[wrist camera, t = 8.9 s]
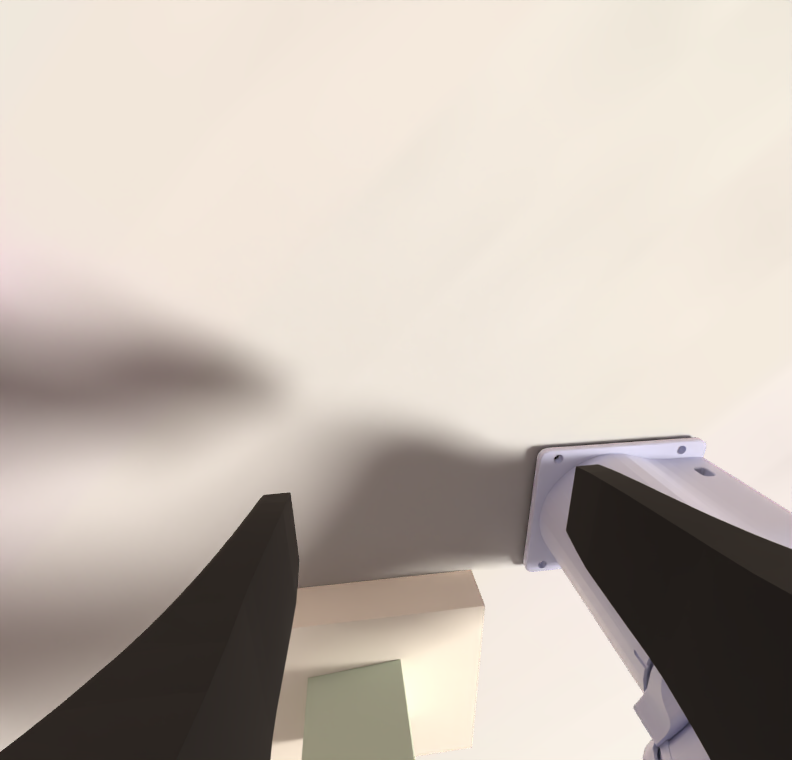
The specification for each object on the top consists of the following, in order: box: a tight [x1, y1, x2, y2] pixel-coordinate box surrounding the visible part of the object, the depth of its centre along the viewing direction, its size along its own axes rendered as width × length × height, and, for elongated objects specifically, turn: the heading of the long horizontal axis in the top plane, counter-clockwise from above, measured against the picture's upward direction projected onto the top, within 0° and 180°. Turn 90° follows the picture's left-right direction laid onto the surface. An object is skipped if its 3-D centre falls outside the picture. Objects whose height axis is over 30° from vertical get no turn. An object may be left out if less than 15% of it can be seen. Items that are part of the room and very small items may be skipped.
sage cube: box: [302, 659, 415, 760], centre depth 20 cm, size 5×5×5 cm
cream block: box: [270, 570, 485, 760], centre depth 24 cm, size 14×12×3 cm
